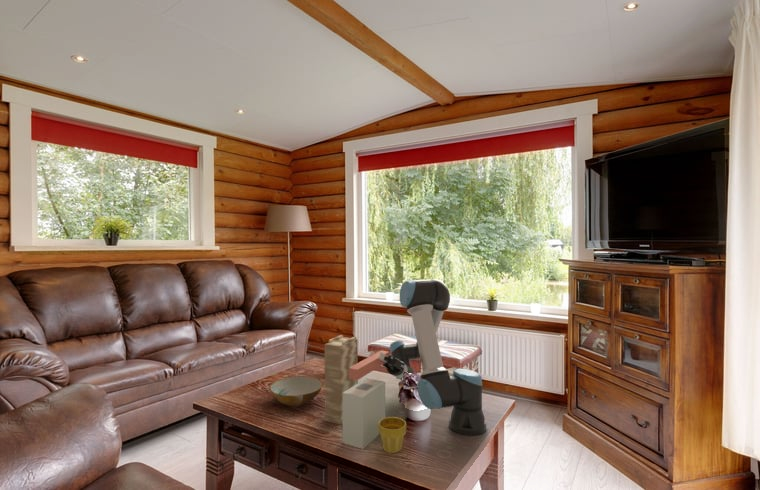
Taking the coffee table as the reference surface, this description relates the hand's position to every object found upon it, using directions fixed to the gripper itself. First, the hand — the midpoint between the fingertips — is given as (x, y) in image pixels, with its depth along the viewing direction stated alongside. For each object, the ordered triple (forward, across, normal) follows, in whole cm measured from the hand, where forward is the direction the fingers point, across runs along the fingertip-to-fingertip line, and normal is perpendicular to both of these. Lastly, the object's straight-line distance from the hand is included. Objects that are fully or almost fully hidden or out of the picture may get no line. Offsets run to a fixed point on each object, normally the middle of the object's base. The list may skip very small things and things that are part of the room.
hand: (375, 354), depth 168 cm
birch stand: (-15, +17, -26) cm, 35 cm away
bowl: (-17, +45, -25) cm, 54 cm away
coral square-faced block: (+1, 0, -6) cm, 6 cm away
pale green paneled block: (-6, -1, -31) cm, 31 cm away
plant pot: (-3, -15, -32) cm, 36 cm away
